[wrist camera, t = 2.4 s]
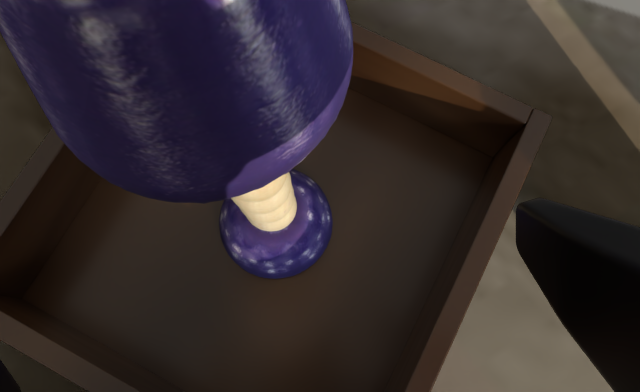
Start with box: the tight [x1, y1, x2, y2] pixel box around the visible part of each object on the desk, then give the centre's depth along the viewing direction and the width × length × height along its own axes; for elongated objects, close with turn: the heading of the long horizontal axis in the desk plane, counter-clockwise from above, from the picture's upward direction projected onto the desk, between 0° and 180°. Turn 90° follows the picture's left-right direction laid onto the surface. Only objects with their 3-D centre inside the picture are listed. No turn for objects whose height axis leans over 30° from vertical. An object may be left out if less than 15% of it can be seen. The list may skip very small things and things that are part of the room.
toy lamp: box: [0, 0, 353, 279], centre depth 13 cm, size 5×5×17 cm
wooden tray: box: [0, 22, 552, 392], centre depth 19 cm, size 14×14×4 cm
